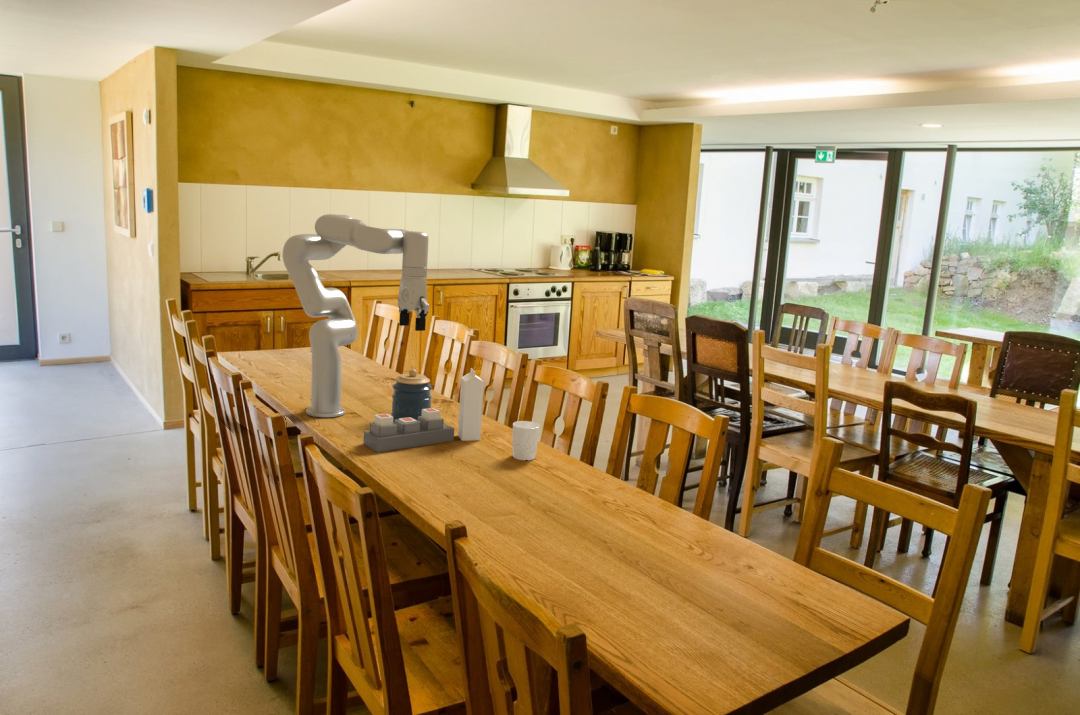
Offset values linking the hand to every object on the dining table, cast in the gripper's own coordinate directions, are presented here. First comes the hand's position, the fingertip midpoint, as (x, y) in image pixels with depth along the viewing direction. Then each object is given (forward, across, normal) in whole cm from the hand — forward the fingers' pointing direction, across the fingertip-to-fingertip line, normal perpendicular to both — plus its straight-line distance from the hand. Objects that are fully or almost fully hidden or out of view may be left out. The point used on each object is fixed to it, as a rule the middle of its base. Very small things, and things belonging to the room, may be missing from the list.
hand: (412, 327), depth 236 cm
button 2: (+29, +10, -6) cm, 31 cm away
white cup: (+34, +37, +18) cm, 53 cm away
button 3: (+27, +10, +2) cm, 29 cm away
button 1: (+27, +10, -14) cm, 32 cm away
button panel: (+33, +10, -5) cm, 35 cm away
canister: (+34, -10, +7) cm, 36 cm away
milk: (+34, +14, +14) cm, 39 cm away
